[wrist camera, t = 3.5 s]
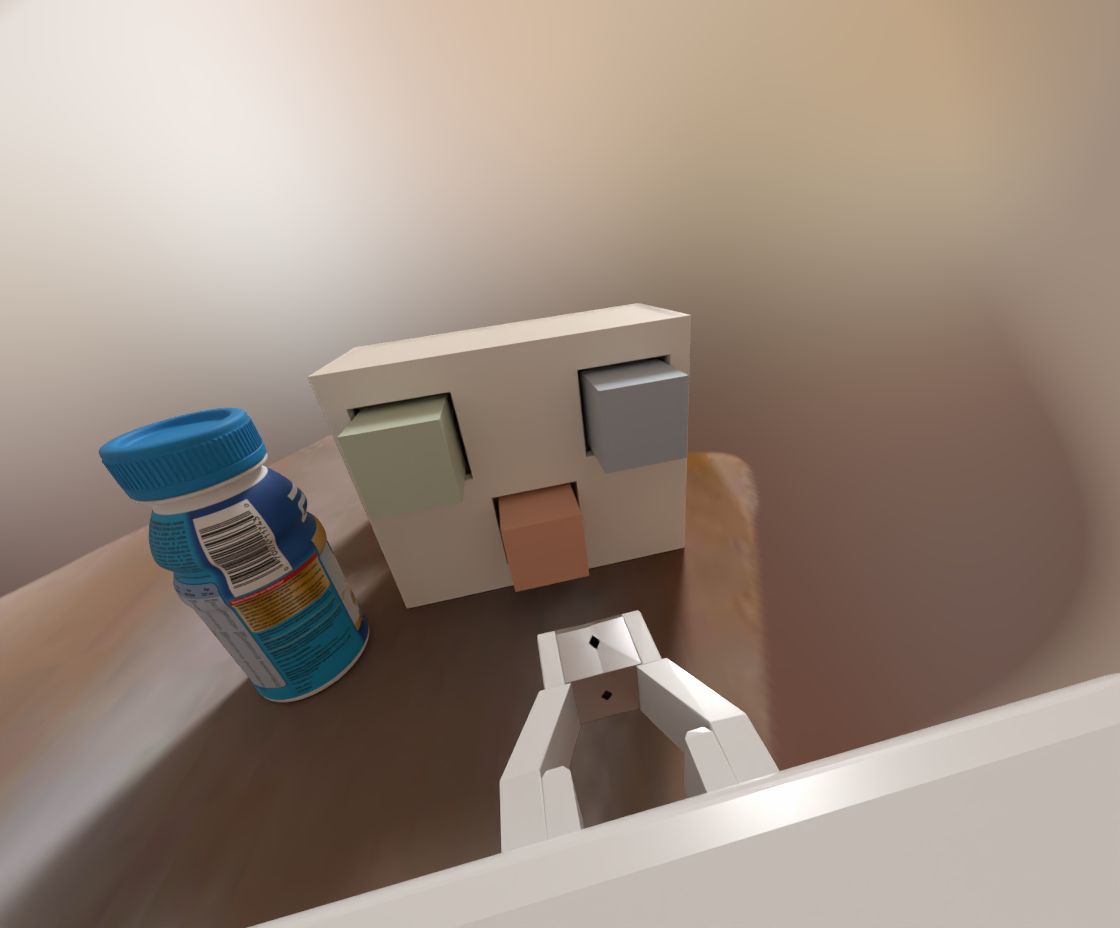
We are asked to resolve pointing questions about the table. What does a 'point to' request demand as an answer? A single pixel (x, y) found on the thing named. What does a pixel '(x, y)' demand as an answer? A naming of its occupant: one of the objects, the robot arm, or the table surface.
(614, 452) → the slate-blue button
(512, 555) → the terracotta button
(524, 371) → the button panel
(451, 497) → the sage-green button
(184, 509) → the beverage bottle
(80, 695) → the table surface
